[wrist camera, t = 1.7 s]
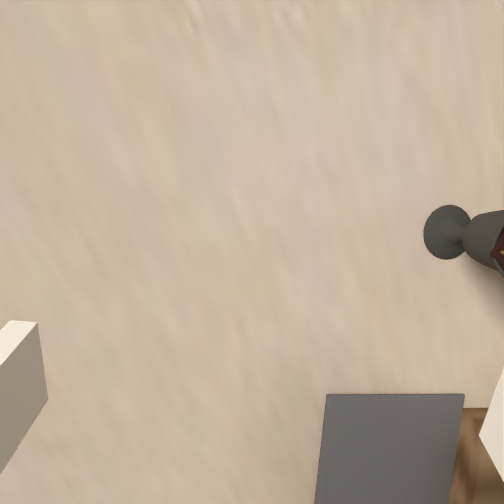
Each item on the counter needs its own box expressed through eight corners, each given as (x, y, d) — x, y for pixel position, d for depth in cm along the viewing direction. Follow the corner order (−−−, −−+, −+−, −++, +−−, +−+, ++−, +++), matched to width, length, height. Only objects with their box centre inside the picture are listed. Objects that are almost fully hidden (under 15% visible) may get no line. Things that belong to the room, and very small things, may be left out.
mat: (441, 535, 46) (443, 538, 46) (309, 546, 43) (310, 548, 43) (462, 393, 44) (464, 395, 44) (326, 394, 41) (327, 395, 41)
